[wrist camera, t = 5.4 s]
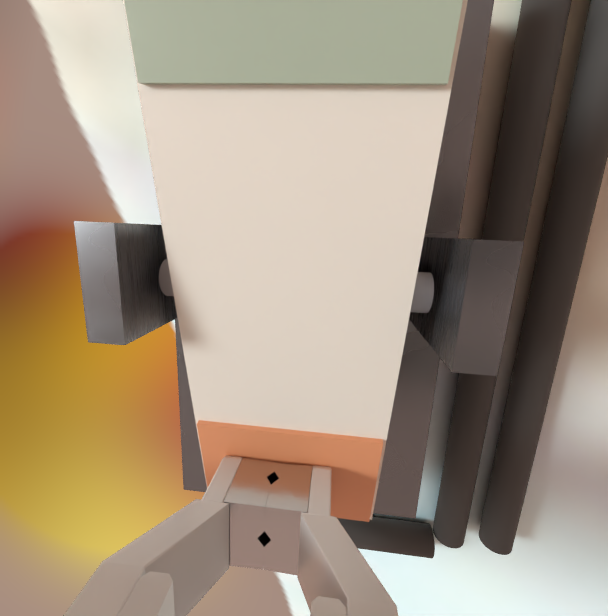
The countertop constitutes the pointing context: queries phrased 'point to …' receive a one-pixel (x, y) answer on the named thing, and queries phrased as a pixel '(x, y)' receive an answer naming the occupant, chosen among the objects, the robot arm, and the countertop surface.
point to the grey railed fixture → (544, 288)
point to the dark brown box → (421, 326)
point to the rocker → (295, 213)
